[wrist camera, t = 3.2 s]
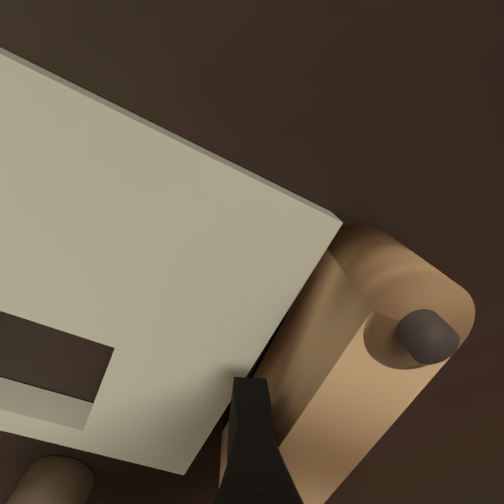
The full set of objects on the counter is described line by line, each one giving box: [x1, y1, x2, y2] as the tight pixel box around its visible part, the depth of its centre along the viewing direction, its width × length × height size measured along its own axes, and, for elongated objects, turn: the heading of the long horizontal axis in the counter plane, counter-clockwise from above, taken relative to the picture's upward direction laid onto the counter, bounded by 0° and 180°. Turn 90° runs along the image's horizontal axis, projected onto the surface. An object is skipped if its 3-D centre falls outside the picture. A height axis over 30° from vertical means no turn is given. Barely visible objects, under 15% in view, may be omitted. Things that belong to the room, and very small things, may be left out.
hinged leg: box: [219, 224, 475, 504], centre depth 10 cm, size 11×2×5 cm, turn 157°
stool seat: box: [0, 47, 343, 475], centre depth 10 cm, size 13×12×1 cm
